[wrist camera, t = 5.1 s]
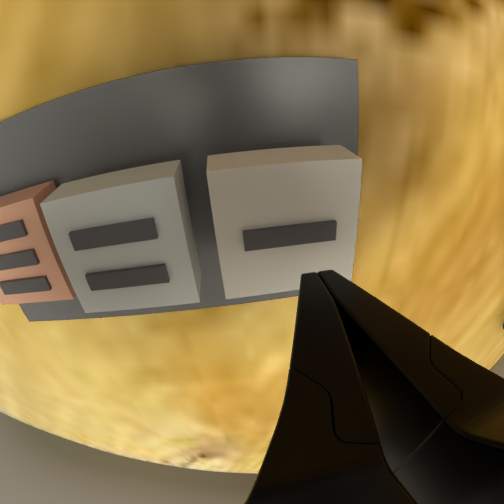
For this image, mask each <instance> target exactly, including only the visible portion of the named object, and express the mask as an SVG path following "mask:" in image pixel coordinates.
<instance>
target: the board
mask: <svg viewBox="0 0 504 504" xmlns="http://www.w3.org/2000/svg"><path fill="white" fill-rule="evenodd" d="M321 145H341V146H343V147H345V148H346V149H348V150H349V151H351V152H353V153H354V154H356V155H357V156H358V67H357V59H343V58H323V57H272V58H252V59H238V60H227V61H217V62H209V63H201V64H194V65H187V66H181V67H175V68H169V69H164V70H159V71H154V72H149V73H144V74H139V75H135V76H131V77H127V78H123V79H119V80H115V81H111V82H107V83H104V84H100V85H97V86H93V87H90V88H87V89H84V90H80V91H77V92H74V93H71V94H68V95H65V96H63V97H60V98H57V99H54V100H52V101H49V102H46V103H44V104H41V105H39V106H36V107H34V108H31V109H29V110H26V111H24V112H22V113H19V114H17V115H15V116H13V117H11V118H8V119H6V120H4V121H2V122H0V196H3V195H6V194H10V193H13V192H16V191H19V190H22V189H25V188H29V187H32V186H35V185H39V184H42V183H46V182H49V181H53V180H54V183H55V186H56V189H57V188H58V187H59V186H60V185H61V184H63V183H67V182H71V181H75V180H79V179H83V178H87V177H92V176H96V175H101V174H105V173H110V172H115V171H119V170H124V169H129V168H134V167H140V166H145V165H151V164H156V163H162V162H168V161H174V160H181V167H182V173H183V179H184V185H185V191H186V196H187V202H188V208H189V213H190V219H191V224H192V229H193V235H194V240H195V245H196V250H197V255H198V260H199V265H200V270H201V286H200V303H191V304H181V305H172V306H162V307H152V308H141V309H130V310H119V311H106V312H94V313H85V311H84V309H83V307H82V305H81V303H80V301H79V299H78V297H77V295H75V297H74V299H71V300H59V301H47V302H34V303H21V304H19V305H20V307H21V309H22V310H23V312H24V314H25V315H26V317H27V319H28V320H29V321H52V320H71V319H87V318H102V317H116V316H128V315H140V314H151V313H162V312H172V311H182V310H191V309H200V308H209V307H218V306H226V305H234V304H242V303H250V302H257V301H265V300H272V299H279V298H286V297H293V296H299V290H293V291H286V292H279V293H271V294H264V295H257V296H249V297H241V298H233V299H226V297H225V291H224V285H223V279H222V273H221V267H220V261H219V254H218V248H217V242H216V235H215V229H214V222H213V215H212V209H211V202H210V195H209V188H208V181H207V173H206V169H207V157H208V156H209V155H217V154H225V153H233V152H242V151H252V150H263V149H274V148H287V147H303V146H321Z"/></svg>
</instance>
